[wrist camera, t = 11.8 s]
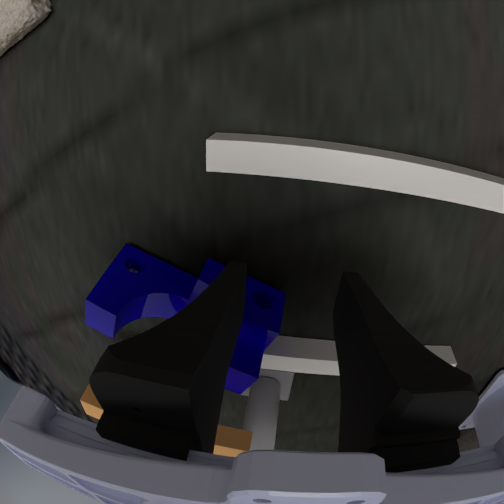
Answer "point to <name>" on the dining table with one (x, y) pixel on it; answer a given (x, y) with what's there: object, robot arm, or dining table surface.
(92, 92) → the dining table surface
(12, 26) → the washcloth
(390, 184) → the rails
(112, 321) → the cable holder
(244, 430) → the tan lever handle
